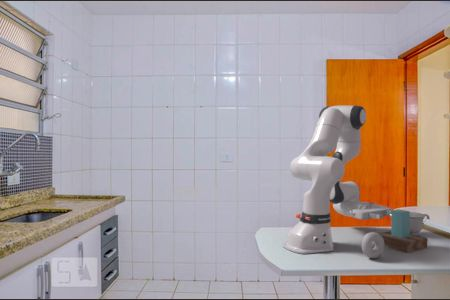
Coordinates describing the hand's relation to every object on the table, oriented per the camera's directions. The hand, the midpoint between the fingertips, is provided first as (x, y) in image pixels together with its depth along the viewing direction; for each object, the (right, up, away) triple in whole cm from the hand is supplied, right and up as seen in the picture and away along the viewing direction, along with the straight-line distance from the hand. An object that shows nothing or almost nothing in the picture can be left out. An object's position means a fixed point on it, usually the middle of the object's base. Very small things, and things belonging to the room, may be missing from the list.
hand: (387, 216), depth 133 cm
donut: (-17, -12, -20) cm, 29 cm away
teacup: (+19, -12, +11) cm, 25 cm away
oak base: (+3, -12, -5) cm, 13 cm away
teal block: (+3, -8, -5) cm, 10 cm away
